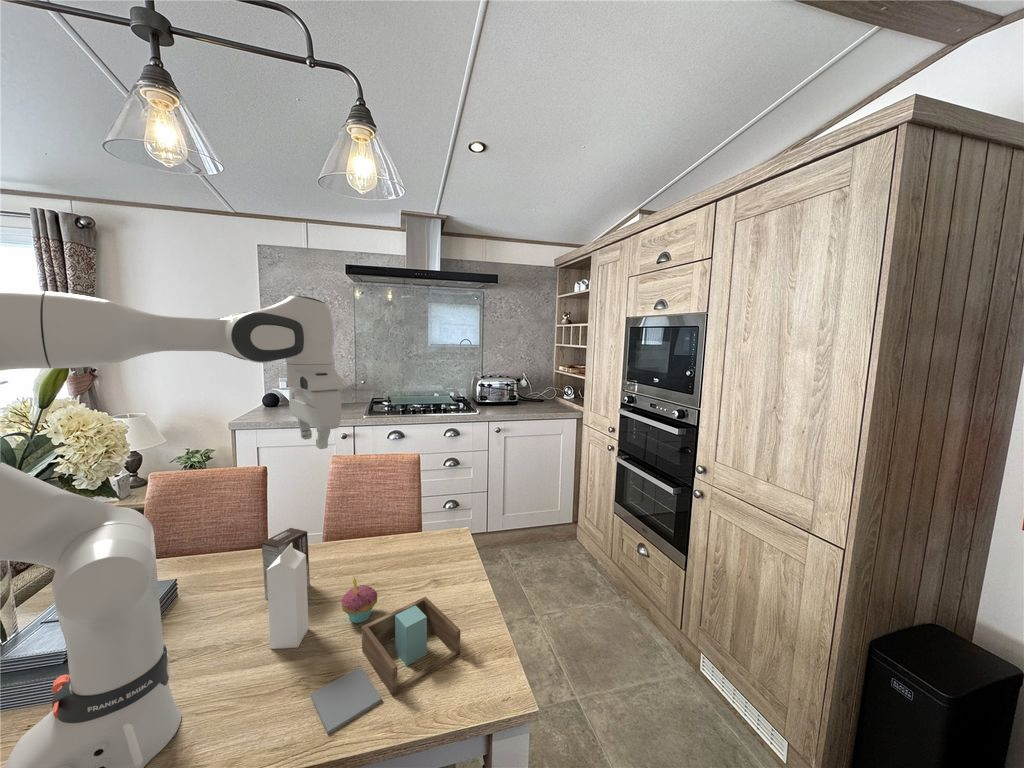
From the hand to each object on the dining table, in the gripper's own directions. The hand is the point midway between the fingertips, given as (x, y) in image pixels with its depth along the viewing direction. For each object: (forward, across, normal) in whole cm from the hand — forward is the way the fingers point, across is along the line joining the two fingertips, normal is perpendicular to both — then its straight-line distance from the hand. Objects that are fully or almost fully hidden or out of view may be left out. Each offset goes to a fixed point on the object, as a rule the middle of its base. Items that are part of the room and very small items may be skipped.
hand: (313, 443), depth 83 cm
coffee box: (+48, -27, +1) cm, 55 cm away
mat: (+48, +16, -1) cm, 50 cm away
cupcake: (+48, -5, +11) cm, 49 cm away
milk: (+48, -8, -4) cm, 49 cm away
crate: (+48, +14, +14) cm, 52 cm away
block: (+48, +14, +14) cm, 52 cm away
